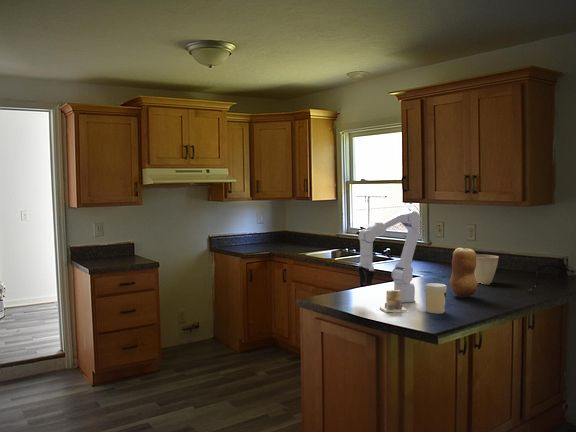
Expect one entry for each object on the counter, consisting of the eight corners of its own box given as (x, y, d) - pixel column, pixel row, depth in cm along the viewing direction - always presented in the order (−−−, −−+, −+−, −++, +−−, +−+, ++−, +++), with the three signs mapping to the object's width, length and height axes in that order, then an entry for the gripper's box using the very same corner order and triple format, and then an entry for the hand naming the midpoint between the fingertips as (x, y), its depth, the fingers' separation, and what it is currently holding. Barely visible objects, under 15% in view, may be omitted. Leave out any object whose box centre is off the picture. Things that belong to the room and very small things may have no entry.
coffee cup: (449, 313, 232) (450, 286, 231) (428, 314, 231) (429, 287, 230) (441, 308, 241) (442, 282, 240) (421, 309, 240) (422, 283, 240)
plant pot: (501, 286, 297) (501, 258, 296) (473, 285, 299) (474, 257, 298) (494, 281, 312) (494, 254, 311) (468, 280, 314) (468, 254, 313)
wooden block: (398, 307, 239) (399, 290, 238) (400, 308, 237) (400, 290, 236) (386, 308, 237) (386, 290, 237) (388, 309, 236) (388, 291, 235)
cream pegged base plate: (400, 308, 242) (400, 301, 241) (406, 311, 235) (407, 305, 235) (379, 309, 240) (380, 302, 239) (385, 312, 233) (386, 306, 233)
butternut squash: (482, 299, 260) (483, 249, 259) (456, 300, 258) (457, 250, 257) (468, 294, 274) (469, 246, 273) (443, 294, 272) (445, 246, 271)
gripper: (353, 253, 254) (352, 281, 255) (363, 257, 240) (363, 286, 241) (367, 252, 256) (366, 280, 256) (378, 256, 241) (377, 286, 242)
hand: (365, 283), depth 249 cm, fingers open, 7 cm apart
